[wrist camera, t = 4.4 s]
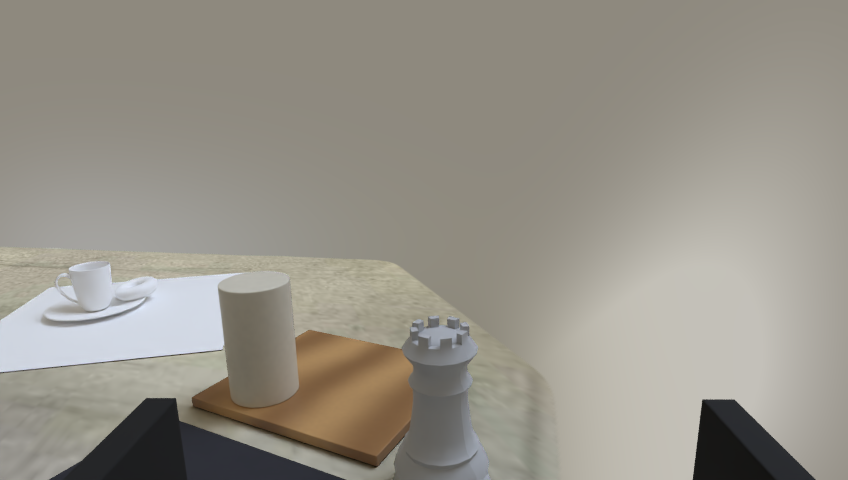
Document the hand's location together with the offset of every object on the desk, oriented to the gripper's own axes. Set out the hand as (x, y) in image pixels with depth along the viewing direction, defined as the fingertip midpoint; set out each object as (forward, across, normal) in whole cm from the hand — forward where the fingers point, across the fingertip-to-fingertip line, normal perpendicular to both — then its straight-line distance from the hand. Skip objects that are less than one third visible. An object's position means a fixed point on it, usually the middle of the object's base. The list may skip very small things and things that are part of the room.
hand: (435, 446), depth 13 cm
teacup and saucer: (+31, -28, -9) cm, 43 cm away
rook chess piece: (+9, 0, -9) cm, 13 cm away
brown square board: (+19, -7, -9) cm, 22 cm away
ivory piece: (+17, -11, -8) cm, 22 cm away
